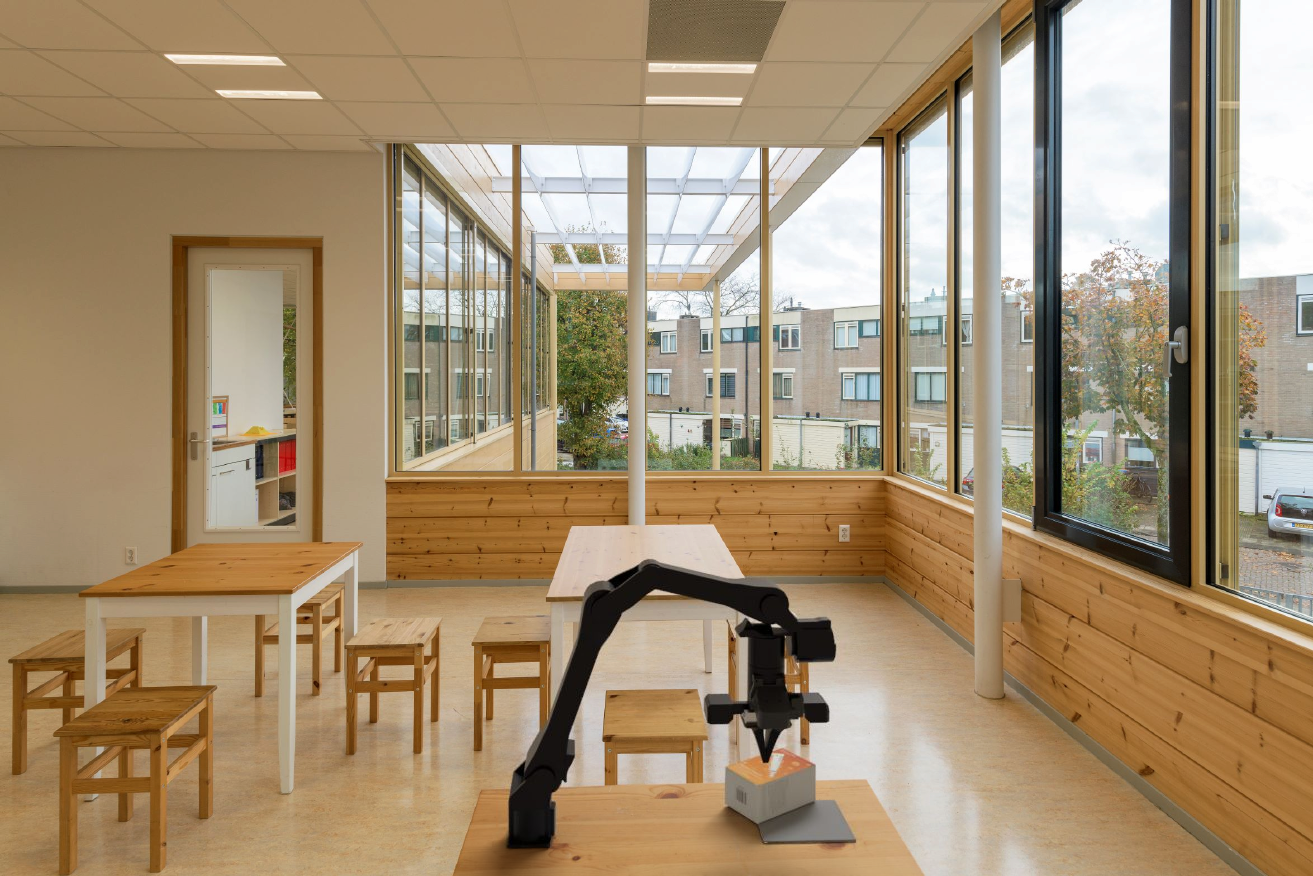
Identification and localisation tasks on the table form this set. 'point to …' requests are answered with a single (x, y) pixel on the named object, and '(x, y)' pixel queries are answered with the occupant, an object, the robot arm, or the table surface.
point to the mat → (808, 825)
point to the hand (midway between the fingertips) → (765, 762)
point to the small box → (770, 785)
